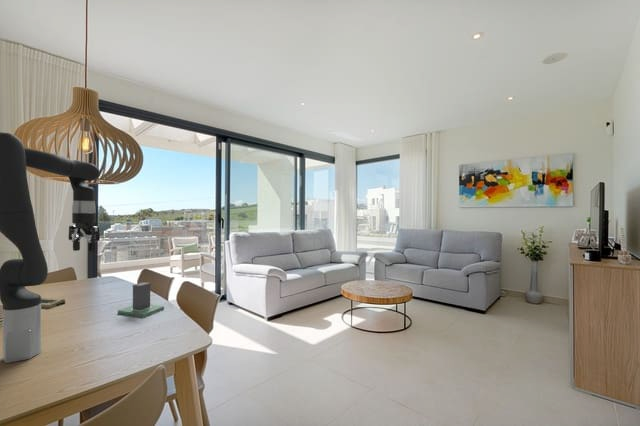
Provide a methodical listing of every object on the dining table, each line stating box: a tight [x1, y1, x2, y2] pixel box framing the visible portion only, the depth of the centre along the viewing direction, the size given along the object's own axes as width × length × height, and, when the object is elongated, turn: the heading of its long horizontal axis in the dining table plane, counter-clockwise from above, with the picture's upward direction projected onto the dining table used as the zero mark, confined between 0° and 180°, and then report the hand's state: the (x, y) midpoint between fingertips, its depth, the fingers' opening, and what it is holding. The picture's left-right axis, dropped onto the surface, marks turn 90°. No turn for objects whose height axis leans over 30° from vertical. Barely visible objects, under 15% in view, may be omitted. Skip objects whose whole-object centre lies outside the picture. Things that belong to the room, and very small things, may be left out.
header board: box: [117, 303, 165, 318], centre depth 145 cm, size 16×12×6 cm
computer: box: [41, 297, 66, 309], centre depth 152 cm, size 16×8×3 cm, turn 82°
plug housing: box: [132, 281, 151, 310], centre depth 144 cm, size 5×6×12 cm
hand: (83, 251), depth 121 cm, fingers open, 8 cm apart
